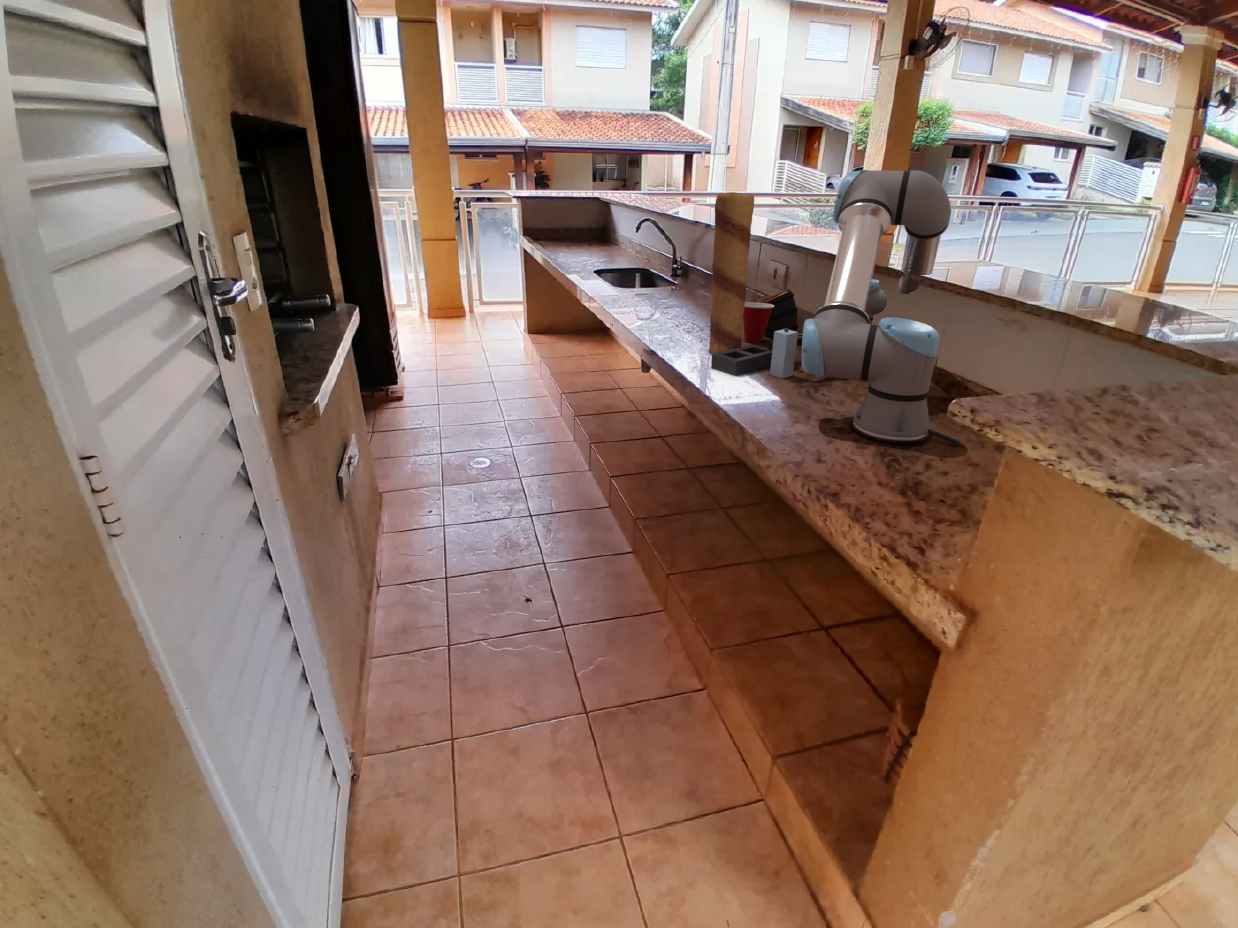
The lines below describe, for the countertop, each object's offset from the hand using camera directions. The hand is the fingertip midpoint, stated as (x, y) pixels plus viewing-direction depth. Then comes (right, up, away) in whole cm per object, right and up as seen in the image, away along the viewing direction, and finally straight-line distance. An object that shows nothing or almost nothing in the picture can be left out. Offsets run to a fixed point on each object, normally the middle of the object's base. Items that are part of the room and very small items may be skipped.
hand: (788, 351), depth 167 cm
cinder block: (-10, -3, +9) cm, 14 cm away
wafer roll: (-14, +4, +23) cm, 27 cm away
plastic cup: (-2, +10, +35) cm, 37 cm away
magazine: (+7, +13, +41) cm, 44 cm away
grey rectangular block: (-2, -6, +2) cm, 7 cm away
